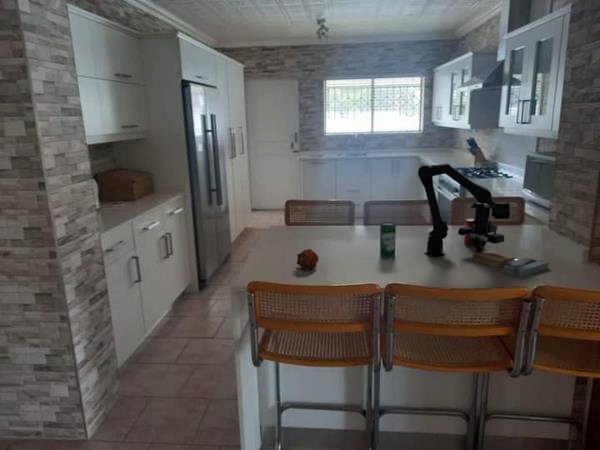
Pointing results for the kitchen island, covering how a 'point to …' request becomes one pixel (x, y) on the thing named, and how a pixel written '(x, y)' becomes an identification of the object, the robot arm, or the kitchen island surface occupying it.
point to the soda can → (466, 237)
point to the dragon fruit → (307, 259)
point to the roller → (519, 262)
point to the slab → (492, 258)
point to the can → (387, 240)
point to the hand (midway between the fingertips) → (479, 254)
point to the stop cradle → (526, 268)
